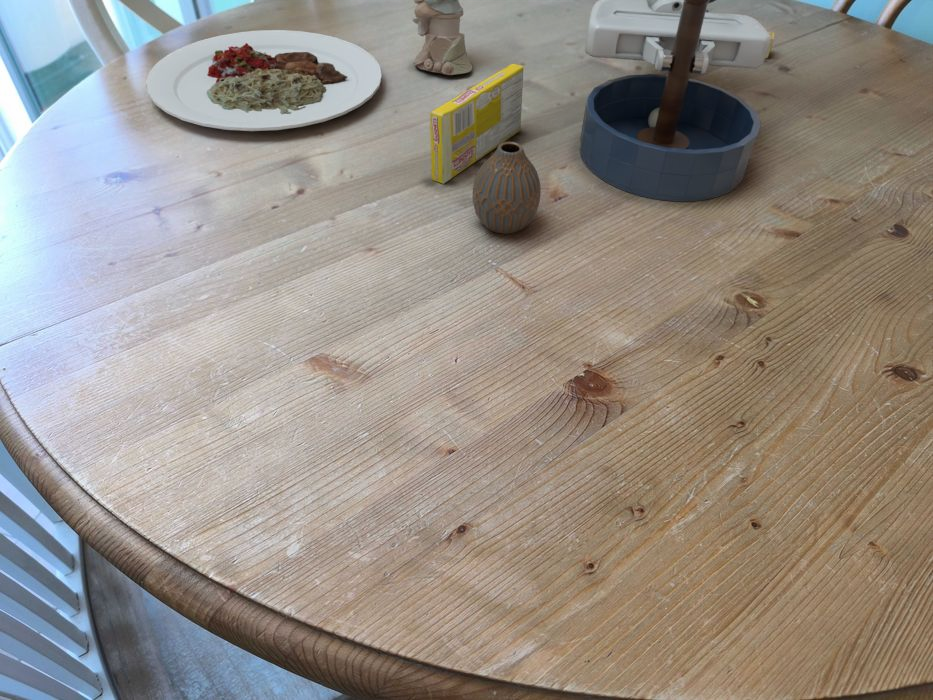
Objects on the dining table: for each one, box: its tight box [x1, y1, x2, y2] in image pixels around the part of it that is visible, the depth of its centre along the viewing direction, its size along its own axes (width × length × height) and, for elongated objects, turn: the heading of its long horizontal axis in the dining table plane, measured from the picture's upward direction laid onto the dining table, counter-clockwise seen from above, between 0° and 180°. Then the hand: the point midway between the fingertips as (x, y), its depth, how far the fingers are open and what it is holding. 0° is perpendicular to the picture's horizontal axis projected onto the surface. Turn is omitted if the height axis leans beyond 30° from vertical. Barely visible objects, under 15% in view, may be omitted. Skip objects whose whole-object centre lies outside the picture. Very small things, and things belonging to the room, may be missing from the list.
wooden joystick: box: [637, 0, 710, 149], centre depth 82 cm, size 6×6×19 cm
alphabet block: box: [765, 31, 776, 59], centre depth 114 cm, size 3×3×3 cm
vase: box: [472, 141, 542, 235], centre depth 76 cm, size 7×7×9 cm
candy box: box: [429, 63, 524, 185], centre depth 86 cm, size 16×2×8 cm, turn 145°
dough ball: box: [648, 107, 660, 128], centre depth 93 cm, size 3×3×3 cm
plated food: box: [145, 29, 383, 132], centre depth 98 cm, size 30×30×3 cm
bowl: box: [579, 73, 762, 202], centre depth 88 cm, size 20×20×6 cm
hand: (682, 65), depth 80 cm, fingers closed on wooden joystick, 2 cm apart
